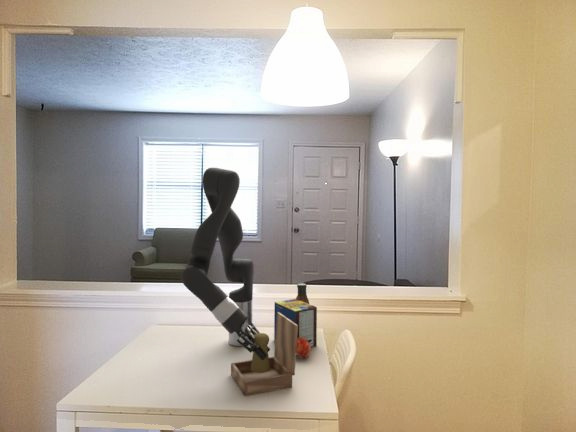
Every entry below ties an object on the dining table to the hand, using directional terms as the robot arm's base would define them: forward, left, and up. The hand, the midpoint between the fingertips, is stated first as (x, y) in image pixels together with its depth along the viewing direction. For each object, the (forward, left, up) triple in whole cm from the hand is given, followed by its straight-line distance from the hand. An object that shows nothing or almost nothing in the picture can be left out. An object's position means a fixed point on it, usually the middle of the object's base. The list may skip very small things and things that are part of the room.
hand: (266, 354), depth 129 cm
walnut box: (-1, -2, -9) cm, 9 cm away
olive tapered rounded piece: (-1, -2, -5) cm, 5 cm away
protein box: (-28, +22, -9) cm, 37 cm away
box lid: (-1, +6, +3) cm, 7 cm away
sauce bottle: (-42, +32, -9) cm, 54 cm away
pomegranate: (-14, +18, -9) cm, 25 cm away
